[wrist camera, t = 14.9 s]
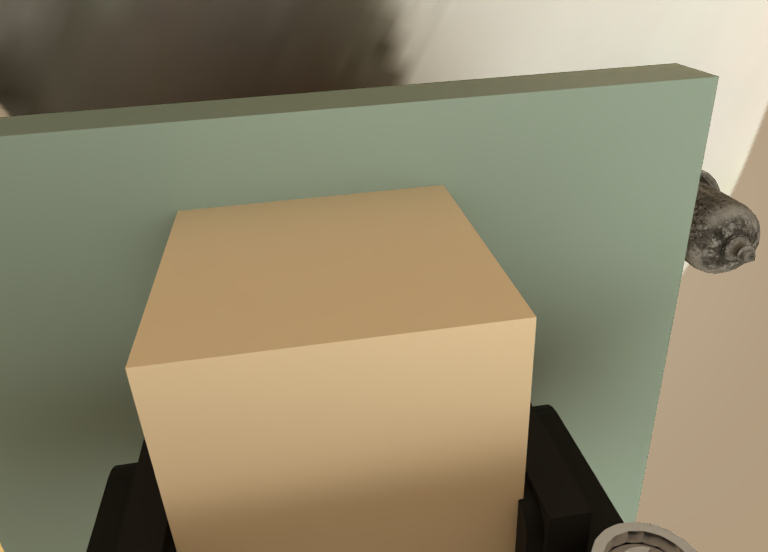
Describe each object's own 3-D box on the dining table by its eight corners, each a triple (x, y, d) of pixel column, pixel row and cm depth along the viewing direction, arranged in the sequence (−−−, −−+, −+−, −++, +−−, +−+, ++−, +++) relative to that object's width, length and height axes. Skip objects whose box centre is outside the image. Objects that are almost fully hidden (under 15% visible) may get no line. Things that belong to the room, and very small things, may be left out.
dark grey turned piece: (590, 73, 31) (759, 144, 20) (675, 134, 33) (867, 226, 22) (518, 178, 33) (638, 293, 22) (602, 229, 35) (748, 355, 24)
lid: (66, 600, 15) (-27, 905, 10) (-131, 127, 10) (-495, 300, 5) (605, 513, 16) (740, 744, 11) (676, 63, 11) (963, 152, 6)
